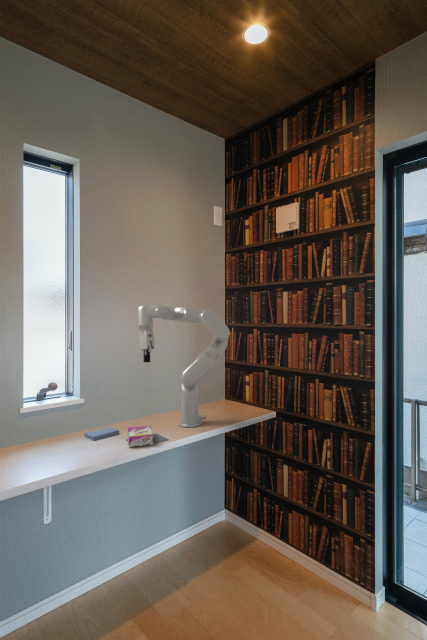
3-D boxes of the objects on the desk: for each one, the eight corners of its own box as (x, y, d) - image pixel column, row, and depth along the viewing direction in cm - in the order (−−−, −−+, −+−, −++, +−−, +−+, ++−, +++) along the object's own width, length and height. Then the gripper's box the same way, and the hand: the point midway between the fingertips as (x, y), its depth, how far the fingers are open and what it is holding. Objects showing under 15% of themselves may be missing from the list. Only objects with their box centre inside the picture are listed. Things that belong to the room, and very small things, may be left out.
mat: (156, 433, 187) (156, 433, 187) (168, 440, 176) (168, 439, 176) (126, 440, 178) (126, 439, 178) (136, 447, 167) (136, 446, 167)
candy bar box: (150, 424, 184) (153, 434, 168) (150, 434, 184) (154, 445, 168) (127, 426, 181) (128, 436, 166) (127, 437, 181) (128, 447, 166)
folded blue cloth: (109, 431, 195) (109, 426, 195) (119, 435, 188) (119, 430, 188) (84, 437, 186) (84, 432, 186) (93, 441, 178) (93, 436, 179)
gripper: (158, 327, 196) (159, 362, 195) (146, 328, 208) (147, 360, 208) (145, 328, 191) (146, 363, 191) (134, 328, 204) (135, 361, 204)
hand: (147, 362), depth 200 cm, fingers closed
